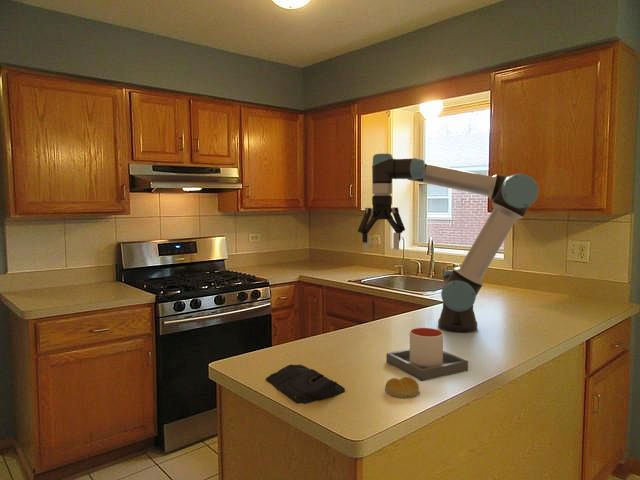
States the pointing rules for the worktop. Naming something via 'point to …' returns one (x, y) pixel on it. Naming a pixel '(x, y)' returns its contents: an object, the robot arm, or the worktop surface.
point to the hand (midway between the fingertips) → (381, 250)
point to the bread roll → (402, 387)
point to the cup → (426, 347)
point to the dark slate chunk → (304, 384)
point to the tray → (447, 367)
